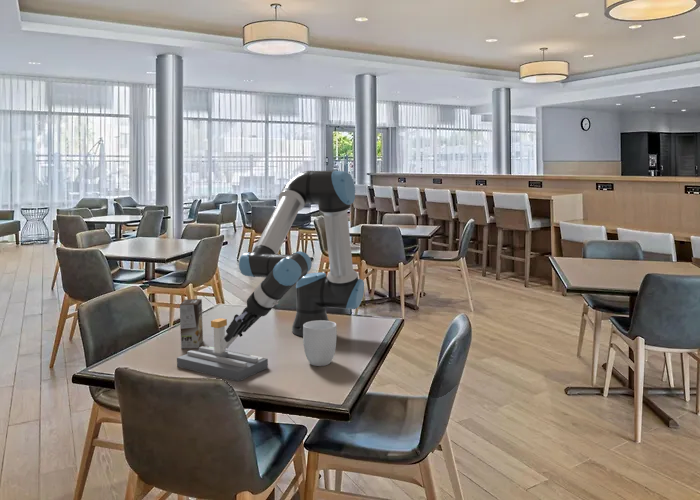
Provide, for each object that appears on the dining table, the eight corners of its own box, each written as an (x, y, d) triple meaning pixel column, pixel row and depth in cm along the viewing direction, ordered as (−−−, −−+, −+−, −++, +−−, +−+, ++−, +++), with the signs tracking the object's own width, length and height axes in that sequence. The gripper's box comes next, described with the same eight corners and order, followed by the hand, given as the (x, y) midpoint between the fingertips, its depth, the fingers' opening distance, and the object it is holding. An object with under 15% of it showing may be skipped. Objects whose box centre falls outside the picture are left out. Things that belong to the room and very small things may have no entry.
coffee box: (199, 348, 202) (197, 304, 200) (180, 348, 202) (179, 304, 199) (203, 340, 211) (201, 298, 209) (185, 341, 211) (184, 299, 209)
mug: (300, 355, 195) (300, 318, 193) (332, 353, 197) (332, 316, 195) (305, 369, 180) (304, 329, 178) (339, 367, 182) (339, 328, 180)
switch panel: (267, 367, 182) (267, 355, 181) (238, 381, 170) (238, 367, 169) (208, 354, 195) (207, 342, 194) (177, 366, 183) (176, 354, 182)
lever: (228, 355, 183) (227, 319, 181) (220, 359, 180) (219, 322, 178) (219, 353, 185) (218, 317, 183) (210, 357, 182) (209, 320, 180)
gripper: (256, 313, 163) (215, 360, 173) (284, 304, 174) (243, 349, 184) (242, 293, 165) (202, 341, 175) (269, 285, 176) (230, 331, 186)
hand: (223, 345), depth 180 cm, fingers closed
